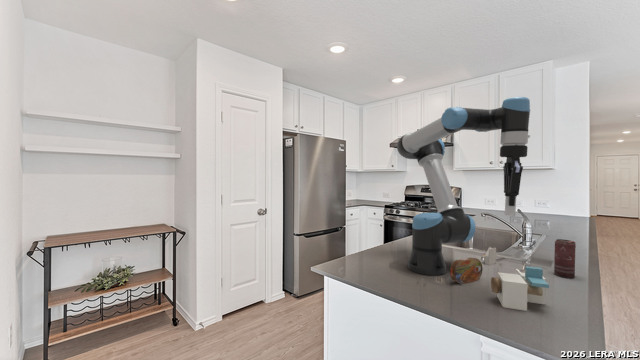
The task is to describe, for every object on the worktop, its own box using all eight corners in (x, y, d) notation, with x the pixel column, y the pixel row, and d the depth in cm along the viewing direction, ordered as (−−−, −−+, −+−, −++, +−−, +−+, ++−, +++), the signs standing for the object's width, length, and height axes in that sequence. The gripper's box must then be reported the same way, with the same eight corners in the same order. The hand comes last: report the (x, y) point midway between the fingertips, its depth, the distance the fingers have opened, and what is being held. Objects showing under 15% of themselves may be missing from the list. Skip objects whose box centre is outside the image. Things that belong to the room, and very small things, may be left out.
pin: (493, 294, 86) (494, 280, 86) (490, 289, 90) (491, 275, 90) (543, 302, 81) (544, 286, 81) (538, 295, 85) (538, 280, 85)
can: (579, 279, 106) (580, 242, 106) (560, 277, 107) (561, 242, 107) (568, 273, 112) (569, 239, 112) (550, 272, 113) (551, 238, 113)
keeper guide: (521, 301, 87) (521, 276, 87) (514, 292, 94) (515, 268, 94) (545, 304, 85) (546, 278, 85) (537, 295, 92) (538, 271, 91)
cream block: (502, 307, 83) (503, 281, 83) (497, 296, 91) (497, 272, 91) (526, 310, 81) (527, 284, 81) (518, 299, 89) (519, 274, 88)
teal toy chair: (532, 286, 81) (532, 273, 81) (524, 277, 88) (525, 265, 88) (549, 288, 80) (549, 275, 80) (540, 279, 86) (540, 267, 86)
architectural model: (481, 263, 125) (481, 247, 125) (489, 261, 129) (489, 245, 128) (488, 266, 122) (489, 249, 122) (497, 263, 126) (497, 247, 125)
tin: (455, 285, 99) (455, 262, 99) (448, 282, 102) (448, 260, 102) (483, 279, 106) (483, 257, 105) (475, 276, 108) (476, 255, 108)
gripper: (534, 143, 85) (529, 219, 86) (521, 146, 97) (517, 212, 98) (505, 144, 88) (501, 217, 89) (496, 146, 100) (492, 211, 101)
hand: (509, 215), depth 94 cm, fingers closed
